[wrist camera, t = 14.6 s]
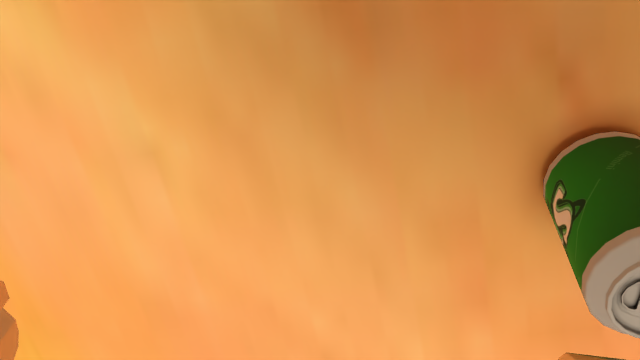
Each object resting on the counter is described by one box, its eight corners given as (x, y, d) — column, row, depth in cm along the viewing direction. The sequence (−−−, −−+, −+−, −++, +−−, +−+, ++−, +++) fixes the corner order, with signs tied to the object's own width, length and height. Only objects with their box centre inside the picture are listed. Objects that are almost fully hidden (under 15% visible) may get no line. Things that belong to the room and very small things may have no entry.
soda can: (549, 122, 38) (608, 239, 28) (672, 123, 37) (777, 244, 27) (530, 216, 42) (576, 347, 32) (641, 219, 41) (723, 354, 31)
